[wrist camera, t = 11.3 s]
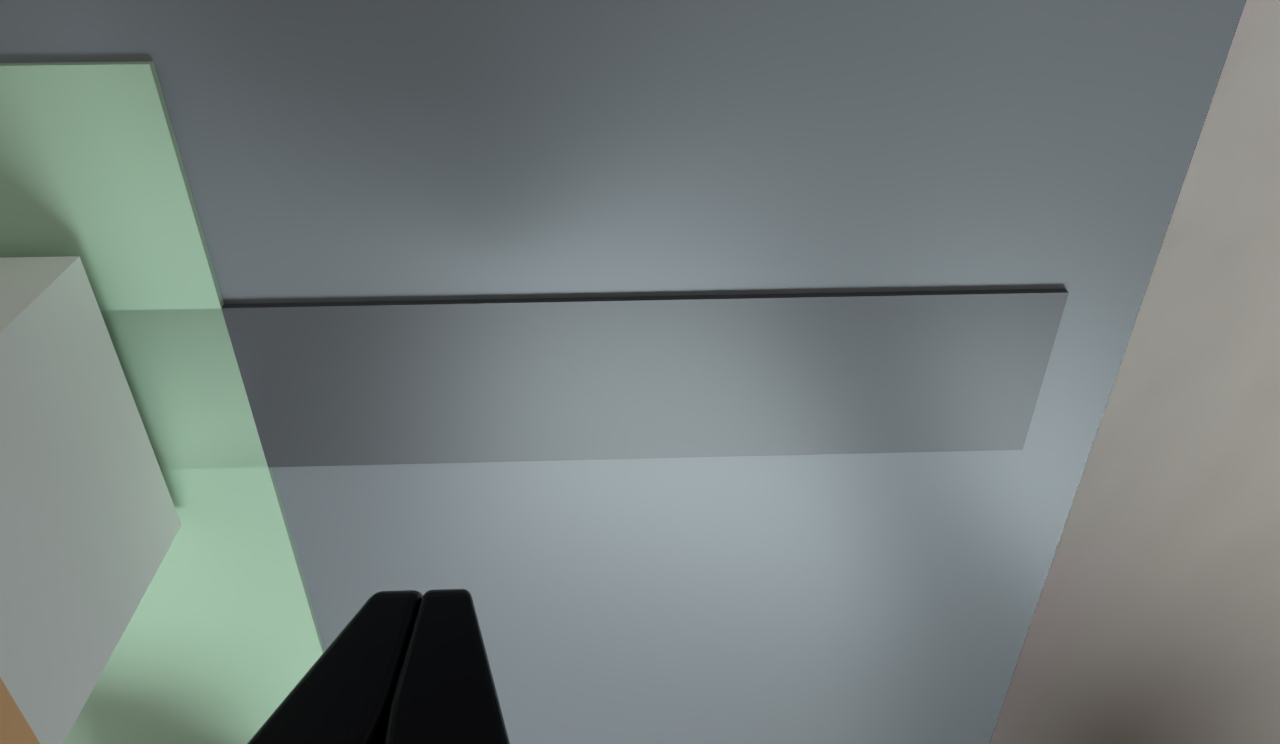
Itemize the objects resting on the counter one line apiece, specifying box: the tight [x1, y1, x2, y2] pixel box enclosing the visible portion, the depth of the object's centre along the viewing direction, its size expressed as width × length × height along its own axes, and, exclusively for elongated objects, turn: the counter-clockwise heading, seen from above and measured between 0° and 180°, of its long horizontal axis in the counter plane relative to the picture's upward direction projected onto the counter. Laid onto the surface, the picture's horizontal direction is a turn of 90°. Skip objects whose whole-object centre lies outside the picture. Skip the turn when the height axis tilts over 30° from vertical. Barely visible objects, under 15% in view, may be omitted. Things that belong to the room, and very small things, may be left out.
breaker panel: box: [0, 0, 1246, 744], centre depth 15 cm, size 16×20×3 cm
